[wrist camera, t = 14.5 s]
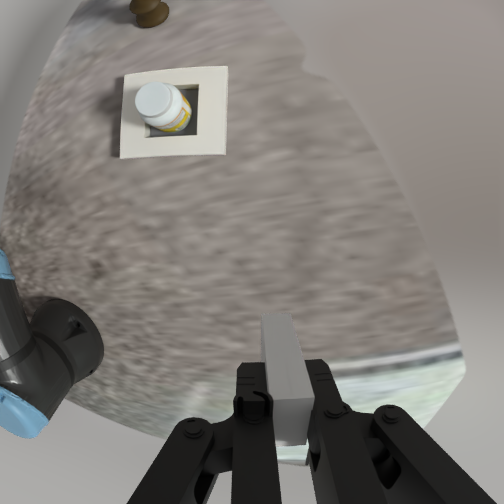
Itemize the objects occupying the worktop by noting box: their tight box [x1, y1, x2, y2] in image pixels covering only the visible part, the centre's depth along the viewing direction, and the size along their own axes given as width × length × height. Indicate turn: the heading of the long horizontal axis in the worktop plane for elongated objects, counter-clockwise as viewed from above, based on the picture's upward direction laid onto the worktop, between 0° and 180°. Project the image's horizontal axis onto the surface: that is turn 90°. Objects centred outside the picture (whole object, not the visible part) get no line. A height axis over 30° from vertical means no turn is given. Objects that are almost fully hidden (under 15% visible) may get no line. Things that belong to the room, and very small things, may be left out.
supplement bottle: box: [135, 82, 192, 133], centre depth 32 cm, size 5×5×10 cm
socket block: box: [120, 66, 228, 159], centre depth 35 cm, size 14×12×2 cm
